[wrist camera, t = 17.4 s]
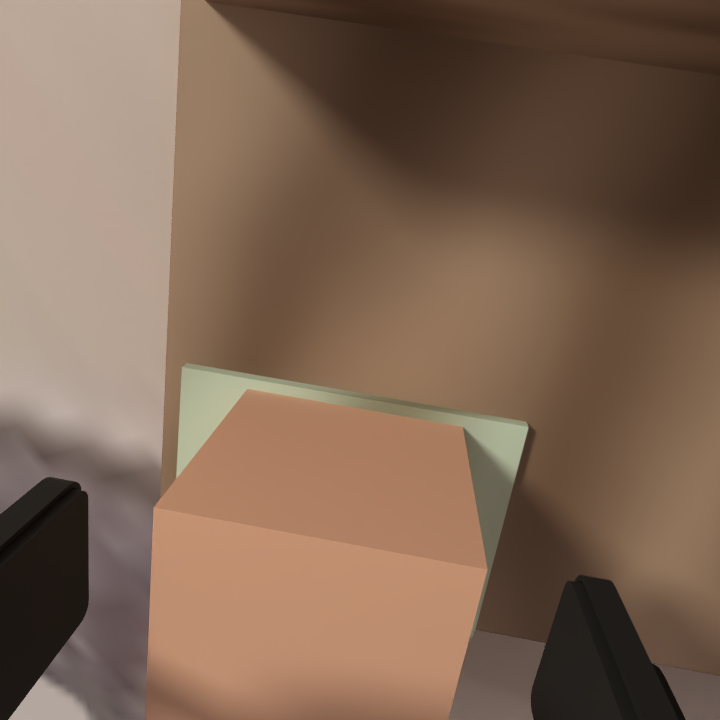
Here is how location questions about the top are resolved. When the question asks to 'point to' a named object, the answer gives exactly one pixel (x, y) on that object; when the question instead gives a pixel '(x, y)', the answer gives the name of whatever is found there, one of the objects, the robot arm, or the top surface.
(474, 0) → the puzzle board
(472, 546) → the terracotta block
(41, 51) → the top surface
